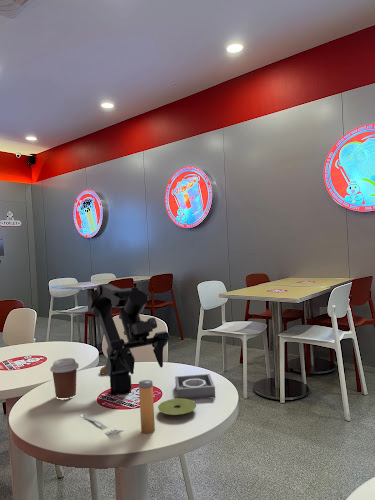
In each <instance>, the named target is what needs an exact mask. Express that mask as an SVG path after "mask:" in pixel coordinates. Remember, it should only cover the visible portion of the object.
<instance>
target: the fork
mask: <svg viewBox="0 0 375 500" xmlns="http://www.w3.org/2000/svg"><path fill="white" fill-rule="evenodd" d="M86 415H87V414H85V415H83V419H84V418H85V419H84V420H87V421H89V422H93V423H97V424H99V425H100V428H101V431H105V430H106V429H108V428H109V427H108V426H106V425H104V423H103V422H101V421H98V420H96V419H94V418H92V417H90V416H88V415H87V416H86ZM122 432H124V430H121V429H114V428H113V429H111V430H109V431H105V432H104V434H105V435H107V436H110V435H112V436H113V435H117V434H119V433H122Z"/></svg>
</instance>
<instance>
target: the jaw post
mask: <svg viewBox="0 0 375 500" xmlns="http://www.w3.org/2000/svg"><path fill="white" fill-rule="evenodd" d="M153 383H154V382H153V380H151V379H150V380H149V379H144V380H140V381H139V382H138V393H139V410H140V411H139V412H140V429H141V430H140V431H141V433H142V434H144V435H150V434H153V433H154V432H155V431H156V430H155V429H156V428H155V427H156V426H155V423H156V422H155V407H154V390H153V389H154V388H153V385H154V384H153Z"/></svg>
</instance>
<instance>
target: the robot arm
mask: <svg viewBox="0 0 375 500" xmlns="http://www.w3.org/2000/svg"><path fill="white" fill-rule="evenodd" d="M148 300H149V298H148V295H147V294H146V293H145V292H143V291H142V290H139V287H137V286H136V287H131V288H130V287H128V288H119V287H117V286H115V285H113V284H112V283H103V284H98V285H96V288H95V290H93V291H92V292H91V293H90V294H89V297H88V301H87V304H88V309H90V311H91V314H92V315H94V316H95V317H96V318H98V321H99V324H100V326H101V330H102V332H103V335H104V338H105V342H106V343H107V348H106V354H107V361H106V363H105V365H104V366H105V372H106V374H107V377H109V383H110V391H109V395H112V396H113V395H122V394H130V392H131V389H132V375H134V373H135V372H134V369H135V360H136V359H135V357H134V354H133V353H132V351H131V349H134V348H140V347H145V346H150V345H151V346H152V348H153V350H152V351H153V354H154V356H155V358H156V361H157V363H158V366H159V368H161V369H162V368H163V366H164V347H166V345H167V344H168V342H169V340H171V336H170V333H169V332H168V331H166V330H165V331H164V330H163V331H159V332H155V333H154V335H153V336H152V337H149V336H150V335H151V334H150V332H151V333H152V332H153V331H154V330H156V328H158V323H157V320H156V318H155V317H149V318H148V319H147V320H146V321H144V320H142V319H141V317H140V315H141V313H143V310H144V308H145V306H146V305H147V303H148ZM112 306H113V307H114V308H115V309H117V308H121V309H120V311H119V315H118V319H119V320H120V321H121V323H122V326H123V330H124V331H123V334H124V336H125V337H126V339H127V342H125V340H124V339H123V338H121V337H120V334H119V331H118V329H117V327H116V322H115V320H114V317H113V314H112Z"/></svg>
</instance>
